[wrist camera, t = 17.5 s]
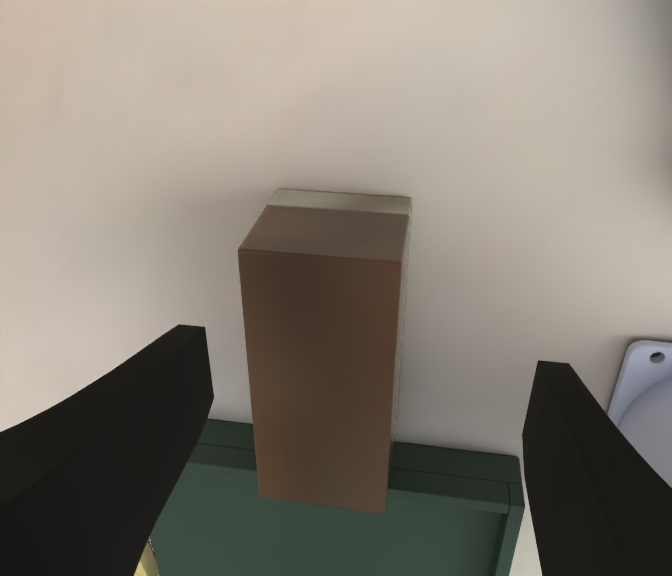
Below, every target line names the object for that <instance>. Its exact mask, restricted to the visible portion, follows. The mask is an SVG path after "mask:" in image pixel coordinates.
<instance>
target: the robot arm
mask: <svg viewBox="0 0 672 576" xmlns="http://www.w3.org/2000/svg"><path fill="white" fill-rule="evenodd" d="M655 352H661V354H660V355H659V356H657V357H651V354H653V353H655ZM213 399H214V393H213V386H212V378H211V370H210V362H209V355H208V347H207V339H206V331H205V327H200V326H190V325H180V324H179V325H177V326H176V327H174V328H173V329H171V330H170V331H168V332H167V333H165V334H164V335H162V336H161V337H159V338H158V339H156V340H155V341H154V342H152V343H151V344H149V345H148V346H147V347H145V348H144V349H142V350H141V351H139V352H138V353H137V354H135V355H134V356H132V357H131V358H129V359H128V360H126V361H125V362H123V363H122V364H121V365H119V366H118V367H116V368H115V369H113V370H112V371H110V372H109V373H107V374H106V375H104V376H102V377H101V378H99V379H98V380H96V381H94V382H93V383H91V384H90V385H88V386H86V387H85V388H83V389H82V390H80V391H78V392H77V393H75V394H74V395H72V396H70V397H69V398H67V399H65V400H63V401H62V402H60V403H58V404H56V405H55V406H53V407H51V408H49V409H47V410H45V411H43V412H41V413H39V414H37V415H36V416H34V417H32V418H30V419H28V420H26V421H24V422H22V423H20V424H18V425H15V426H13V427H11V428H9V429H6V430H4V431H2V432H0V576H134V574H135V572H136V569H137V566H138V564H139V561H140V559H141V556H142V554H143V551H144V549H145V546H146V544H147V541H148V539H149V537H150V534H151V532H152V530H153V528H154V526H155V524H156V522H157V520H158V518H159V516H160V514H161V512H162V510H163V508H164V506H165V504H166V502H167V500H168V498H169V497H170V495H171V493H172V491H173V489H174V487H175V485H176V483H177V481H178V479H179V477H180V475H181V474H182V472H183V470H184V468H185V466H186V464H187V462H188V460H189V458H190V456H191V454H192V452H193V450H194V448H195V446H196V444H197V442H198V440H199V438H200V436H201V433H202V431H203V428H204V425H205V423H206V420H207V417H208V414H209V411H210V408H211V405H212V402H213ZM522 439H523V460H524V475H525V483H526V489H527V494H528V500H529V505H530V511H531V516H532V522H533V527H534V532H535V538H536V543H537V549H538V554H539V559H540V565H541V570H542V575H543V576H672V343H668V342H658V341H647V340H640V341H636V342H633V343H632V344H631V345H629V347H628V349H627V351H626V355H625V358H624V361H623V364H622V368H621V371H620V374H619V378H618V381H617V384H616V387H615V391H614V394H613V397H612V400H611V404H610V407H609V410H608V413H607V414H606V413H605V411H604V410H603V409H602V407H601V406H600V405H599V403H598V402H597V401H596V399H595V398H594V397H593V395H592V394H591V393H590V391H589V390H588V389H587V387H586V386H585V384H584V383H583V382H582V380H581V379H580V378H579V376H578V375H577V373H576V372H575V371H574V369H573V368H572V367H571V366H570V364H569V363H559V362H549V361H539V360H538V363H537V368H536V372H535V377H534V382H533V386H532V391H531V396H530V400H529V405H528V409H527V414H526V419H525V423H524V428H523V433H522Z"/></svg>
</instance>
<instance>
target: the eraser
mask: <svg viewBox="0 0 672 576" xmlns="http://www.w3.org/2000/svg"><path fill="white" fill-rule="evenodd" d="M411 210H412V198H406V197H391V196H376V195H361V194H346V193H331V192H316V191H301V190H286V189H277V190H276V192H275V194H274V195H273V197H272V198H271V200H270V201H269V203H268V204H267V206H266V208H265V209H264V211H263V212H262V214H261V215H260V217H259V218H258V220H257V221H256V223H255V224H254V226H253V227H252V229H251V230H250V232H249V234H248V235H247V237H246V238H245V240H244V241H243V243H242V244H241V246H240V247H239V249H238V260H239V271H240V282H241V294H242V305H243V316H244V328H245V339H246V350H247V362H248V373H249V384H250V396H251V407H252V419H253V430H254V441H255V453H256V464H257V475H258V487H259V496H260V497H264V498H271V499H278V500H285V501H293V502H300V503H307V504H314V505H321V506H328V507H336V508H343V509H350V510H357V511H364V512H371V513H379V514H385V512H386V504H387V496H388V487H389V479H390V471H391V462H392V454H393V445H394V437H395V428H396V417H397V403H398V389H399V376H400V362H401V348H402V334H403V320H404V307H405V293H406V279H407V265H408V251H409V238H410V224H411Z"/></svg>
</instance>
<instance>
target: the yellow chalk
mask: <svg viewBox="0 0 672 576" xmlns="http://www.w3.org/2000/svg"><path fill="white" fill-rule="evenodd" d="M158 574H159V571H158V567H157V563H156V559H155V556H154V554H153V552H152V550H151V547H150V545H149V543H148V541H147V544H146V546H145V549H144V551H143V554H142V556H141V559H140V561H139V564H138V566H137V569H136V572H135V574H134V576H158Z"/></svg>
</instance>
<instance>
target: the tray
mask: <svg viewBox="0 0 672 576" xmlns="http://www.w3.org/2000/svg"><path fill="white" fill-rule="evenodd" d="M524 509H525V503H524V494H523V486H522V479H521V470H520V462H519V458H518V457H512V456H504V455H495V454H487V453H479V452H471V451H463V450H454V449H446V448H438V447H430V446H422V445H414V444H405V443H397V442H394V445H393V454H392V462H391V471H390V479H389V487H388V496H387V504H386V512H385V514H379V513H371V512H364V511H357V510H350V509H343V508H336V507H328V506H321V505H314V504H307V503H300V502H293V501H285V500H278V499H271V498H264V497H260V496H259V487H258V475H257V464H256V453H255V441H254V430H253V425H250V424H242V423H234V422H225V421H217V420H209V419H207V420H206V423H205V425H204V428H203V431H202V433H201V436H200V438H199V440H198V442H197V444H196V446H195V448H194V450H193V452H192V454H191V456H190V458H189V460H188V462H187V464H186V466H185V468H184V470H183V472H182V474H181V475H180V477H179V479H178V481H177V483H176V485H175V487H174V489H173V491H172V493H171V495H170V497H169V498H168V500H167V502H166V504H165V506H164V508H163V510H162V512H161V514H160V516H159V518H158V520H157V522H156V524H155V526H154V528H153V530H152V532H151V534H150V537H151V542H152V546H153V550H154V554H155V559H156V563H157V567H158V571H159V576H509V572H510V568H511V564H512V560H513V555H514V551H515V547H516V543H517V539H518V534H519V530H520V526H521V522H522V518H523V513H524Z"/></svg>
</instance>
